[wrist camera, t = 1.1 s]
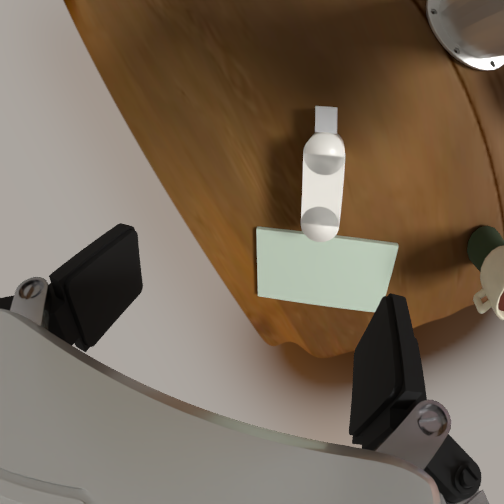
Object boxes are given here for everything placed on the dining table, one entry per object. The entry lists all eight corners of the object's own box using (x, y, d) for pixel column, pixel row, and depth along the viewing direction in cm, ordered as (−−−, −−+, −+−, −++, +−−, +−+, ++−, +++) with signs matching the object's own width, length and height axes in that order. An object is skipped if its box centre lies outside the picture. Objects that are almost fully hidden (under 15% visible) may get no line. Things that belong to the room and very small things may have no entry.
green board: (397, 243, 36) (398, 245, 35) (379, 309, 42) (380, 312, 41) (257, 226, 41) (256, 228, 40) (259, 293, 47) (257, 296, 46)
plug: (345, 107, 30) (347, 108, 25) (338, 223, 37) (337, 244, 32) (309, 105, 31) (303, 105, 26) (306, 219, 38) (299, 239, 33)
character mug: (465, 279, 35) (490, 339, 24) (445, 248, 34) (474, 307, 23) (514, 238, 29) (553, 288, 18) (498, 203, 28) (544, 248, 17)
